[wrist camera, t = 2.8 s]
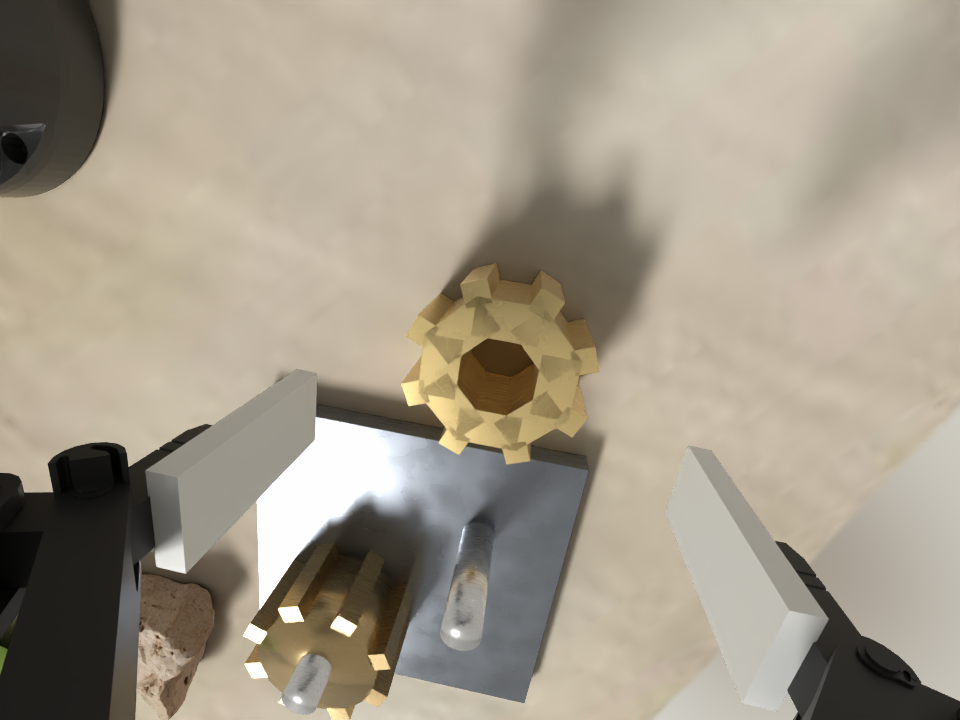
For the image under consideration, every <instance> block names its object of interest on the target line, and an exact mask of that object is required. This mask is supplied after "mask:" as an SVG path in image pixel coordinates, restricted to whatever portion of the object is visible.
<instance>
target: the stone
mask: <svg viewBox="0 0 960 720" xmlns="http://www.w3.org/2000/svg"><path fill="white" fill-rule="evenodd" d="M214 617H215V611H214V609H213V608H212V603H211V596H210V593H209V592H208V591H207V589H204V588H202V587H201V586H199V585H196V584H192V583H189V584H180V583H178V582H177V583H176V582H174V581H173V580H171V579H168V578H164V577H162V576H158V575H151V574H146V575H143V574H142V577H141V599H140V621H139V643H138V665H137V688H136V689H137V691H138V692H139V693H140V694H141V696H142V698H143V699H144V700H145V701H146V702H147V703H148V704H149V705H150V707H151V708H152V709H153V710H154V711H156V712H157V714H158V716H159V717H160V719H162V720H169V719H170V718H171V717H172V716H173V715H174V714H175V713H176V712H177V711H178V709H179V708H180V706H181V705H182V704H183V702H184V700H185V698H186V693H187V691H188V688H189V686H190V684H191V682H192V679H193V677H194V675H195V672H196V670H197V665H198V663H199V661H200V660H201V658H202V657H203V654H204V651H205V647H206V641H207V640H208V638H209V635H210V634H211V632H212V630H213V629H214V625H215V624H214Z"/></svg>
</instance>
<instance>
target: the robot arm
mask: <svg viewBox="0 0 960 720" xmlns="http://www.w3.org/2000/svg"><path fill="white" fill-rule="evenodd" d="M103 98H104V75H103V64H102V56H101V50H100V45H99V40H98V35H97V32H96V28H95V24H94V21H93V18H92V14H91V11H90V8H89V6H88V3H87V0H0V197H27V196H34V195H38V194H41V193H44V192H47V191H49V190H52V189H54V188H56V187H57V186H59V185H61V184H62V183H64V182H65V181H66V180H67V179H69V178H70V177H71V176H72V175H73V174H74V173H75V172H76V171H77V170H78V168H79V167H80V166H81V165H82V163H83V162H84V160H85V159H86V157H87V156H88V154H89V152H90V150H91V148H92V146H93V143H94V141H95V138H96V135H97V132H98V129H99V125H100V121H101V115H102V109H103ZM316 397H317V373H314V372H309V371H304V370H299V369H296V370H295V371H293V372H292V373H290V374H289V375H287V376H286V377H284V378H283V379H281V380H280V381H278V382H277V383H275V384H274V385H272V386H271V387H269V388H268V389H266V390H265V391H263V392H262V393H260V394H259V395H257V396H256V397H254V398H253V399H251V400H250V401H249V402H247V403H246V404H244V405H243V406H241V407H240V408H238V409H237V410H235V411H234V412H232V413H231V414H229V415H228V416H226V417H225V418H223V419H222V420H220V421H219V422H217V423H216V424H214V425H208V424H204V425H201V426H199V427H196V428H193V429H190V430H187V431H185V432H184V433H182V434H181V435H179V436H177V437H176V438H174V439H173V440H172V441H171V442H168V443H166V444H165V445H163V446H162V447H160V449H159V450H155V451H154V452H152V453H150V454H149V455H147V456H146V457H144V458H143V459H141V460H139V461H138V462H136V463H135V464H133V465H132V466H130V467H128V460H127V453H126V450H125V448H124V447H123V446H121V445H119V444H115V443H108V442H101V443H90V444H85V445H80V446H76V447H73V448H70V449H67V450H65V451H63V452H61V453H59V454H58V455H56V456H54V457H53V458H52V459H51V460H50V462H49V463H48V467H49V472H50V477H51V482H52V487H53V492H43V493H24V490H23V486H22V482H21V480H20V478H19V476H16V475H13V474H10V473H0V639H1V638H2V636H3V635H4V633H5V632H6V630H7V629H8V627H9V626H10V624H11V623H12V621H13V620H14V618H15V617H16V615H17V614H18V612H19V614H18V617H17V621H16V624H15V627H14V630H13V634H12V637H11V640H10V644H9V647H8V650H7V654H6V657H5V660H4V663H3V667H2V670H1V673H0V720H135V710H136V688H137V665H138V643H139V621H140V599H141V577H142V568H141V559H142V558H143V557H144V556H145V555H146V554H147V553H149V552H150V551H151V550H152V549H153V548H154V551H155V560H156V567H159V568H163V569H167V570H172V571H176V572H180V573H185V574H186V573H187V572H188V571H189V570H190V569H191V568H192V567H193V566H194V565H195V564H196V563H197V562H198V561H199V560H200V559H201V558H202V557H203V556H204V555H205V553H206V552H207V551H208V550H209V549H210V548H211V547H212V546H213V545H214V544H215V543H216V542H217V541H218V540H219V539H220V538H221V537H222V536H223V535H224V534H225V533H226V532H227V531H228V530H229V529H230V528H231V527H232V526H233V525H234V523H235V522H236V521H237V520H238V519H239V518H240V517H241V516H242V515H243V514H244V513H245V512H246V511H247V510H248V509H249V508H250V507H251V506H252V505H253V504H254V503H255V502H256V501H257V500H258V499H259V498H260V497H261V496H262V495H263V493H264V492H265V491H266V490H267V489H268V488H269V487H270V486H271V485H272V484H273V483H274V482H275V481H276V480H277V479H278V478H279V477H280V476H281V475H282V474H283V473H284V472H285V471H286V470H287V469H288V468H289V467H290V466H291V465H292V463H293V462H294V461H295V460H296V459H297V458H298V457H299V456H300V455H301V454H302V453H303V452H304V451H305V450H306V449H307V448H308V447H309V446H310V445H311V444H312V443H313V442H314V441H315V427H316ZM665 514H666V516H667V519H668V521H669V524H670V526H671V529H672V531H673V534H674V536H675V539H676V541H677V544H678V546H679V549H680V551H681V554H682V556H683V559H684V561H685V564H686V566H687V569H688V571H689V574H690V576H691V579H692V581H693V584H694V586H695V589H696V591H697V594H698V596H699V598H700V601H701V603H702V606H703V608H704V611H705V613H706V616H707V618H708V621H709V623H710V626H711V628H712V631H713V633H714V636H715V638H716V641H717V643H718V646H719V648H720V651H721V653H722V656H723V658H724V661H725V663H726V666H727V668H728V671H729V673H730V676H731V678H732V680H733V683H734V685H735V688H736V690H737V693H738V695H739V698H740V700H741V703H742V704H747V705H751V706H755V707H759V708H764V709H768V710H773V711H776V712H777V711H778V710H779V708H780V706H781V704H782V703H783V701H784V699H785V697H786V695H787V693H789V695H790V697H791V699H792V701H793V702H794V704H795V706H796V708H797V710H798V713H797V714H796V716H795V718H794V719H793V720H960V701H958V700H956V699H954V698H951V697H949V696H947V695H945V694H942V693H940V692H938V691H935V690H933V689H931V688H929V687H927V686H924V685H922V684H921V681H920V680H919V678H918V677H917V675H916V674H915V673H914V671H913V670H912V669H911V668H910V666H908V665H907V664H906V663H905V662H904V661H903V660H902V659H901V658H900V657H899V656H898V655H896V654H894V653H893V652H892V651H891V650H889V649H887V648H886V647H885V646H883V645H882V644H880V643H878V642H876V641H874V640H872V639H870V638H867V637H864V636H861V635H860V633H859V632H858V631H857V629H856V628H855V627H854V625H853V624H852V622H851V621H850V620H849V618H848V617H847V616H846V614H845V613H844V612H843V610H842V609H841V608H840V606H839V605H838V604H837V602H836V601H835V600H834V598H833V597H832V596H831V594H830V593H829V592H828V591H826V588H825V586H824V585H823V584H822V582H821V581H820V580H819V578H816V574H815V573H814V571H813V570H812V569H811V567H810V566H809V565H808V563H807V562H806V561H805V559H804V558H803V557H801V556H800V555H799V554H798V553H797V552H796V551H794V550H793V549H792V548H791V547H790V546H789V545H787V544H786V543H783V542H778V541H774V540H773V538H772V537H771V535H770V534H769V532H768V531H767V529H766V528H765V527H764V525H763V524H762V522H761V521H760V519H759V518H758V517H757V515H756V514H755V512H754V511H753V509H752V508H751V506H750V505H749V504H748V502H747V501H746V499H745V498H744V496H743V495H742V493H741V492H740V491H739V489H738V488H737V486H736V485H735V483H734V482H733V481H732V479H731V478H730V476H729V475H728V473H727V472H726V470H725V469H724V468H723V466H722V465H721V463H720V462H719V460H718V459H717V458H716V456H715V455H714V453H713V452H712V450H707V449H702V448H697V447H692V446H688V448H687V451H686V454H685V457H684V460H683V462H682V465H681V468H680V471H679V474H678V477H677V479H676V482H675V485H674V488H673V491H672V494H671V496H670V499H669V502H668V505H667V508H666V511H665Z"/></svg>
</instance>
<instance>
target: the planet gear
mask: <svg viewBox="0 0 960 720" xmlns="http://www.w3.org/2000/svg"><path fill="white" fill-rule="evenodd" d="M460 286H461V290H462V294H463V296H462V297H461V298H459V299H458V300H456V301H455V302H454V301H452V300H451V299H449V298H447V297H446V296H444V295H443V294H441V293H440V294H439V295H438V296H437V297H436V298H435V299H434V300H433V301H432V302H431V303H430V304H429V305H428V306H427V307H426V308H425V309H424V310H423V311H422V312H421V313H420V314H419V315H418V316H417V318H416V320H415V321H414V323H413V325H412V327H411V328H410V330H409V332H408V334H407V335H406V337H408V338H409V339H411V340H413V341H414V342H416V343H417V344H419V345H421V346H422V347H423V351H422V356H421V358H420V359H419V360H418V362H417V363H416V364H415V366H414V367H413V368H412V370H411V371H410V373H409V374H408V375H407V377H406V378H405V379H404V381H403V382H402V383H401V384H402V387H403V391H404V394H405V397H406V400H407V403H408V406H413V405H418V404H424V403H426V404H427V405H428V406H429V407H430V409H431V410H432V411H433V412H434V414H435V415H436V416H437V417H438V419H439V420H440V421H441V422H442V424H443V425H444V426H445V428H444V430H443V433H442V435H441V438H440V440H439V444H441V445H443V446H444V447H446V448H448V449H449V450H451V451H453V452H454V453H456V454H458V455H460V453H461V452H462V450H463V449H464V448H465V446H466V445H467V443H468V442H471V443H476V444H481V445H486V446H491V447H496V448H501V449H502V450H503V453H504V457H505V461H506V465H507V464H514V463H521V462H527V461H530V457H531V442H533V441H534V440H536V439H538V438H540V437H541V436H543V435H545V434H547V433H548V432H550V431H552V430H554V429H555V428H557V429H559V430H560V431H562V432H564V433H565V434H567V435H568V436H570V437H573V436H574V435H575V434H576V432H577V431H578V430H579V429H580V428H581V426H582V425H583V424H584V423H585V421H586V420H587V415H586V411H585V406H584V402H583V398H582V393H581V389H580V385H579V380H578V379H579V376H580V375H585V374H591V373H597V372H600V370H599V365H598V359H597V353H596V347H595V344H594V342H593V339H592V337H591V334H590V332H589V329H588V327H587V324H586V322H585V319H580V320H575V321H570V322H567V320H566V319H565V318H564V316H563V315H562V313H561V312H560V310H561V309H562V307H563V306H564V304H565V299H564V296H563V292H562V288H561V285H560V282H558V281H557V280H555V279H554V278H552V277H550V276H549V275H547V274H546V273H544V272H543V271H540V273H539V274H538V276H537V277H536V279H535V280H534V282H533V283H532V285H529V284H524V283H518V282H512V281H506V280H500V275H499V271H498V267H497V263H494V264H490V265H485V266H481V267H477V268H474V269H473V271H472V272H471V273H470V274H469V275H468V276H467V277H466V278H465V279H464V281H463V282H462V283H461V284H460ZM487 338H489V339H495V340H500V341H506V342H511V343H517V344H521V346H522V347H523V348H524V350H525V351H526V353H527V354H528V355H529V357H530V358H531V360H532V361H533V362H534V363H533V364H532V365H530V366H528V367H527V368H525V369H524V370H522V371H521V372H519V373H517V374H516V375H514V376H513V377H510V376H505V375H500V374H494V373H489V372H486V371H485V369H484V368H483V367H482V365H481V364H480V363H479V361H478V360H477V359H476V357H475V356H474V355H473V353H472V352H471V351H472V348H474V347H475V346H477V345H478V344H480V343H481V342H483V341H484V340H485V339H487Z"/></svg>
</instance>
